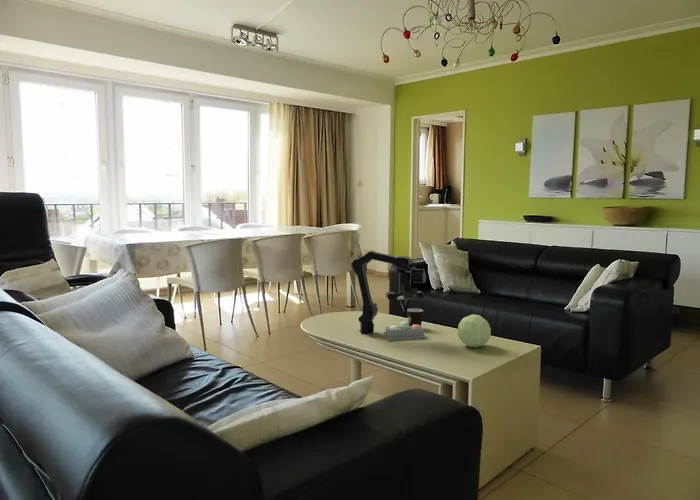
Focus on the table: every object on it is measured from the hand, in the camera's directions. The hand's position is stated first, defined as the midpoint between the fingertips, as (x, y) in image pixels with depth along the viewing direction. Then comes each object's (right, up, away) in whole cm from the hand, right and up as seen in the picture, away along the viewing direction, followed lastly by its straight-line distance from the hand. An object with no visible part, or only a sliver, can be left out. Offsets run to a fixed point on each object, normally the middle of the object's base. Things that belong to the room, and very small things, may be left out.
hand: (404, 311), depth 265 cm
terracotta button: (+6, -11, +2) cm, 13 cm away
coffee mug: (+7, -11, +20) cm, 24 cm away
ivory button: (-6, -11, 0) cm, 13 cm away
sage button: (0, -9, +1) cm, 9 cm away
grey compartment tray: (0, -13, +1) cm, 13 cm away
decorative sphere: (+31, -15, -16) cm, 38 cm away
